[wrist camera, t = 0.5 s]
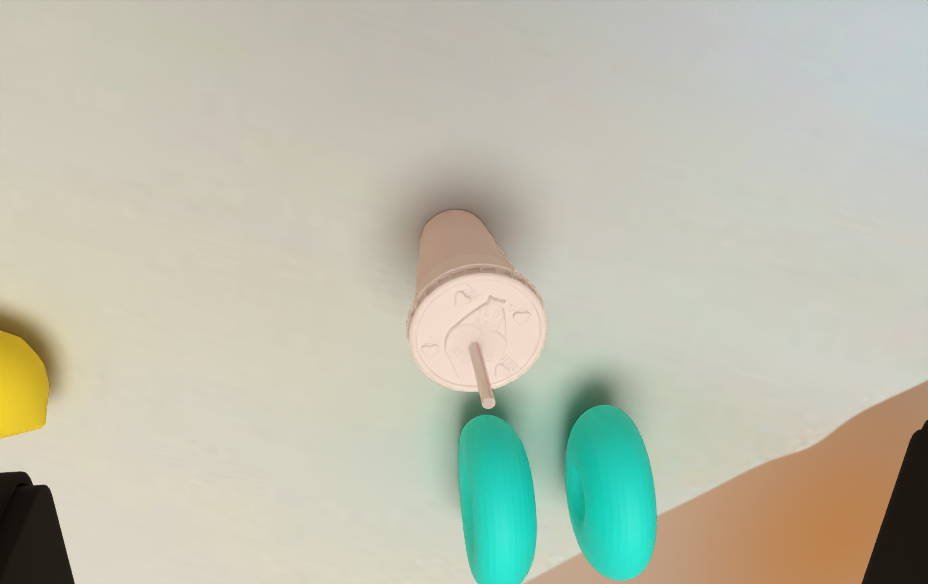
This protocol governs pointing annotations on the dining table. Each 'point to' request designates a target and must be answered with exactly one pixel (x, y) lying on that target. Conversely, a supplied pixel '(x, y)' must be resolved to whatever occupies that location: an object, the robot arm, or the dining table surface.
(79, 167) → the dining table surface
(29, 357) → the lemon
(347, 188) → the dining table surface
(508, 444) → the donuts
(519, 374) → the smoothie
